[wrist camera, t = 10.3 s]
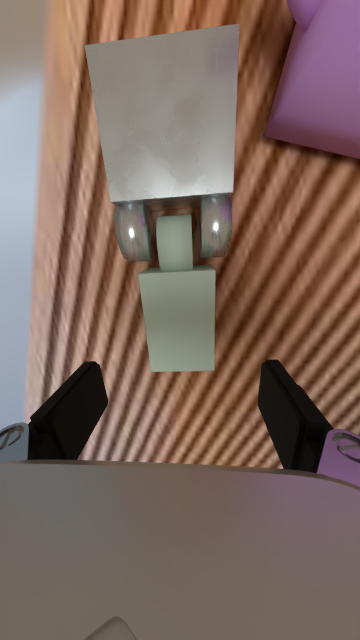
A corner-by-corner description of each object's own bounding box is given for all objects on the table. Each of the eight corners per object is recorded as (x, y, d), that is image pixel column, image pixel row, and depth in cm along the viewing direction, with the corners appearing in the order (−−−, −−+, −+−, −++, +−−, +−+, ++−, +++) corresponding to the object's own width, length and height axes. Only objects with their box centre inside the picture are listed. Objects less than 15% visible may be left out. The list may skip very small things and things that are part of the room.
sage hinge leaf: (209, 217, 18) (216, 207, 14) (209, 346, 24) (214, 370, 19) (144, 221, 19) (130, 213, 14) (158, 347, 24) (151, 371, 20)
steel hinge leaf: (224, 92, 15) (239, 23, 10) (221, 255, 20) (230, 258, 15) (115, 105, 16) (84, 45, 11) (136, 260, 20) (120, 264, 16)
